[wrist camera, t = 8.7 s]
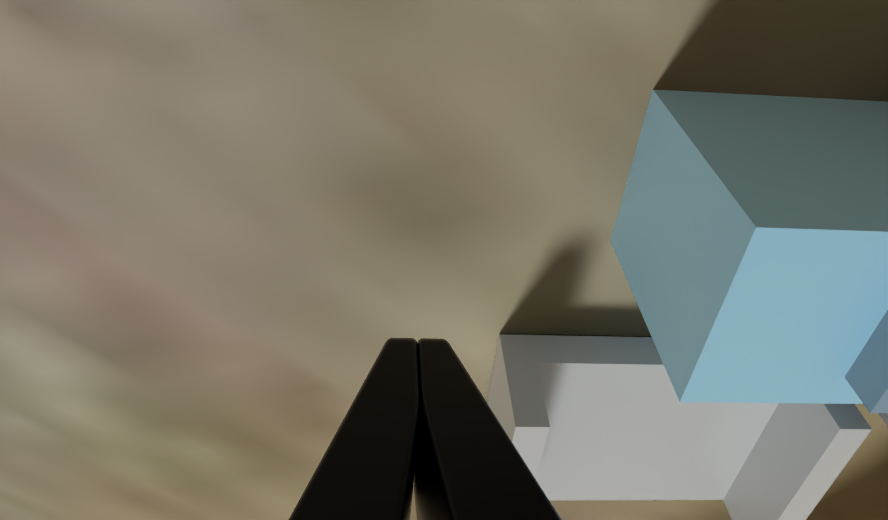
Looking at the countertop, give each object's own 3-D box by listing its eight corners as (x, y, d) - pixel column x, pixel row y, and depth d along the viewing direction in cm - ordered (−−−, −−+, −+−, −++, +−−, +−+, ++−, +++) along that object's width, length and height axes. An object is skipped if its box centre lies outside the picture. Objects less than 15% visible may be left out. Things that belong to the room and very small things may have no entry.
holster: (809, 340, 18) (871, 429, 16) (734, 472, 22) (775, 560, 19) (499, 334, 17) (515, 426, 15) (475, 472, 21) (484, 564, 19)
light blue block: (926, 101, 14) (1180, 272, 9) (846, 246, 16) (1021, 440, 12) (651, 87, 14) (781, 260, 9) (609, 239, 16) (695, 438, 11)
